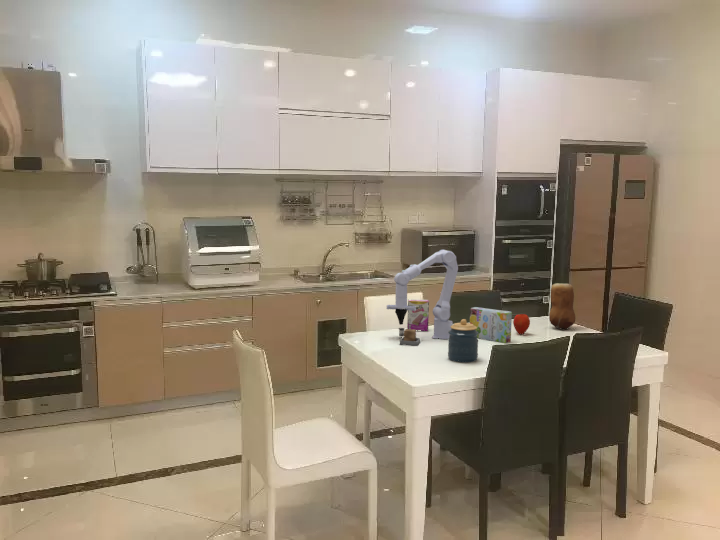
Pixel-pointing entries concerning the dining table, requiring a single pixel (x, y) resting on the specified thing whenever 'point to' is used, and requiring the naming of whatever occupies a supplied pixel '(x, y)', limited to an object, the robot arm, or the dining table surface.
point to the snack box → (492, 324)
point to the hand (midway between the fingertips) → (401, 324)
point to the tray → (410, 342)
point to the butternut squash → (562, 306)
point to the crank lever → (401, 332)
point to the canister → (463, 342)
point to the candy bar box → (418, 315)
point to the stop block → (409, 335)
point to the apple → (521, 323)
